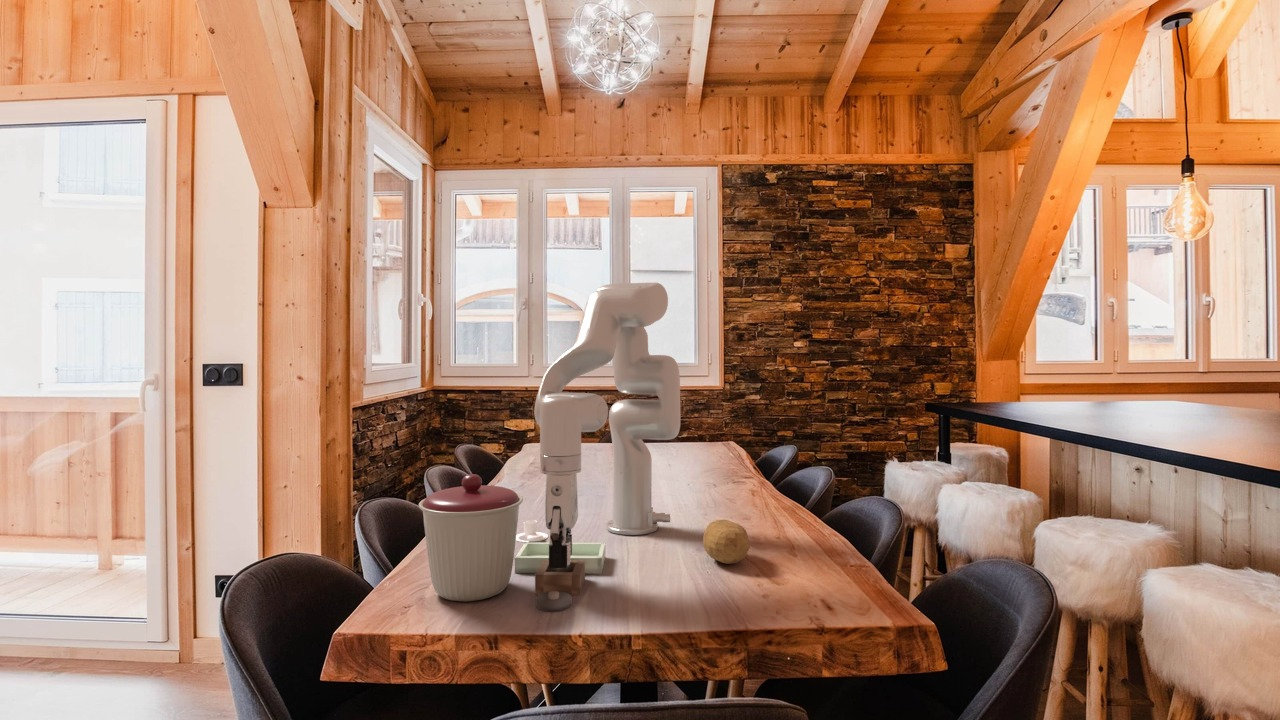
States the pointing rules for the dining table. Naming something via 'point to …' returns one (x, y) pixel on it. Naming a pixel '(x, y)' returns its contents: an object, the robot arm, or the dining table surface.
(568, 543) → the dark capped bottle
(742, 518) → the dining table surface
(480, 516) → the canister
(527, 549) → the tray
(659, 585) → the dining table surface
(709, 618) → the dining table surface
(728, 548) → the potato
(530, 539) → the teacup and saucer
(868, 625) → the dining table surface
